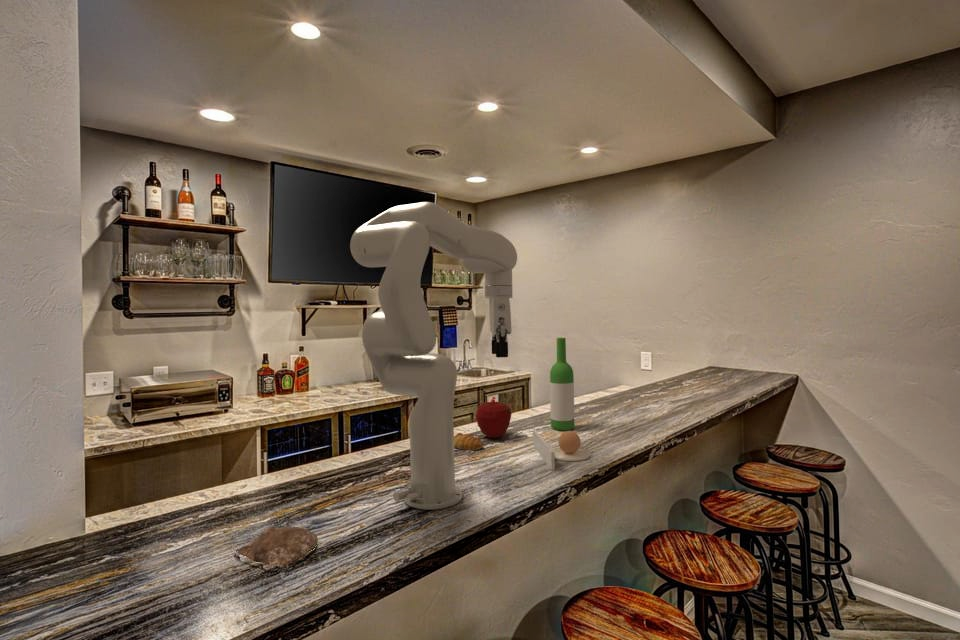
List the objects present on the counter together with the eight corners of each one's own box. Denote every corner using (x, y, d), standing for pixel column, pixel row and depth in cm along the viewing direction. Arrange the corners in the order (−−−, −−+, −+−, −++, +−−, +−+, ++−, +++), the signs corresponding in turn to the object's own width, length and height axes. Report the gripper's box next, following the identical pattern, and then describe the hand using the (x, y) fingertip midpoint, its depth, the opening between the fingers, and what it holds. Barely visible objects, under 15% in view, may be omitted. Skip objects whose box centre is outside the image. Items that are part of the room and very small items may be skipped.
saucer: (576, 464, 128) (576, 462, 128) (541, 456, 136) (541, 454, 135) (597, 454, 136) (597, 451, 136) (563, 446, 144) (563, 444, 144)
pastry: (488, 447, 145) (487, 434, 145) (474, 453, 140) (473, 440, 140) (463, 442, 151) (463, 430, 151) (448, 448, 146) (448, 435, 146)
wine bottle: (578, 426, 166) (576, 337, 164) (569, 432, 159) (567, 339, 158) (556, 424, 170) (554, 336, 169) (546, 429, 163) (545, 338, 162)
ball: (573, 457, 132) (573, 434, 132) (554, 453, 136) (554, 431, 136) (584, 452, 136) (584, 430, 136) (566, 448, 140) (565, 427, 140)
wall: (554, 470, 124) (554, 452, 124) (551, 470, 124) (551, 452, 124) (535, 444, 146) (535, 429, 146) (533, 445, 146) (532, 429, 146)
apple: (470, 439, 153) (469, 402, 153) (487, 431, 163) (486, 395, 162) (502, 443, 148) (501, 405, 148) (517, 435, 157) (516, 398, 157)
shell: (287, 531, 95) (287, 512, 95) (332, 547, 88) (331, 528, 88) (229, 557, 85) (228, 536, 85) (273, 578, 78) (273, 556, 78)
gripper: (517, 291, 127) (518, 358, 127) (507, 293, 144) (508, 352, 145) (488, 292, 126) (489, 359, 127) (482, 293, 144) (483, 352, 144)
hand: (499, 355), depth 136 cm, fingers open, 9 cm apart
